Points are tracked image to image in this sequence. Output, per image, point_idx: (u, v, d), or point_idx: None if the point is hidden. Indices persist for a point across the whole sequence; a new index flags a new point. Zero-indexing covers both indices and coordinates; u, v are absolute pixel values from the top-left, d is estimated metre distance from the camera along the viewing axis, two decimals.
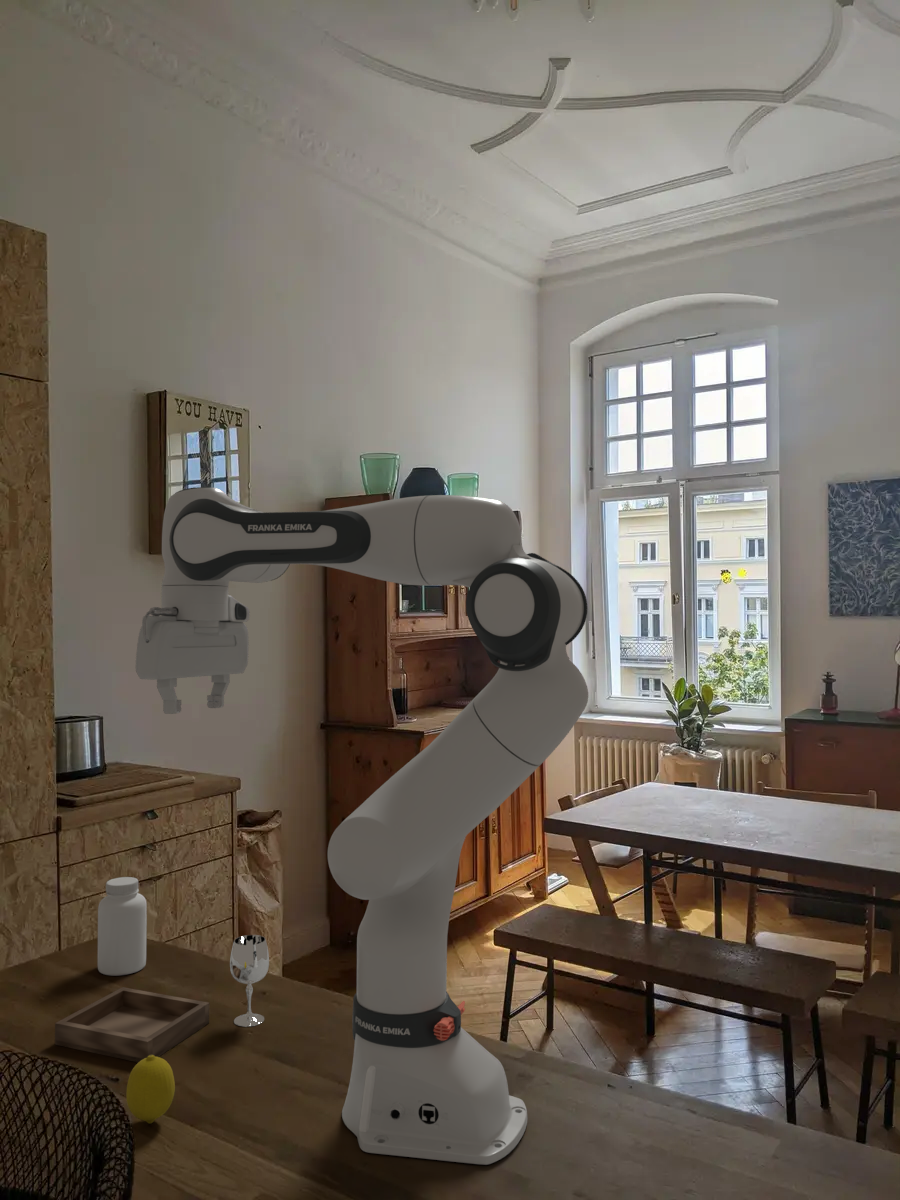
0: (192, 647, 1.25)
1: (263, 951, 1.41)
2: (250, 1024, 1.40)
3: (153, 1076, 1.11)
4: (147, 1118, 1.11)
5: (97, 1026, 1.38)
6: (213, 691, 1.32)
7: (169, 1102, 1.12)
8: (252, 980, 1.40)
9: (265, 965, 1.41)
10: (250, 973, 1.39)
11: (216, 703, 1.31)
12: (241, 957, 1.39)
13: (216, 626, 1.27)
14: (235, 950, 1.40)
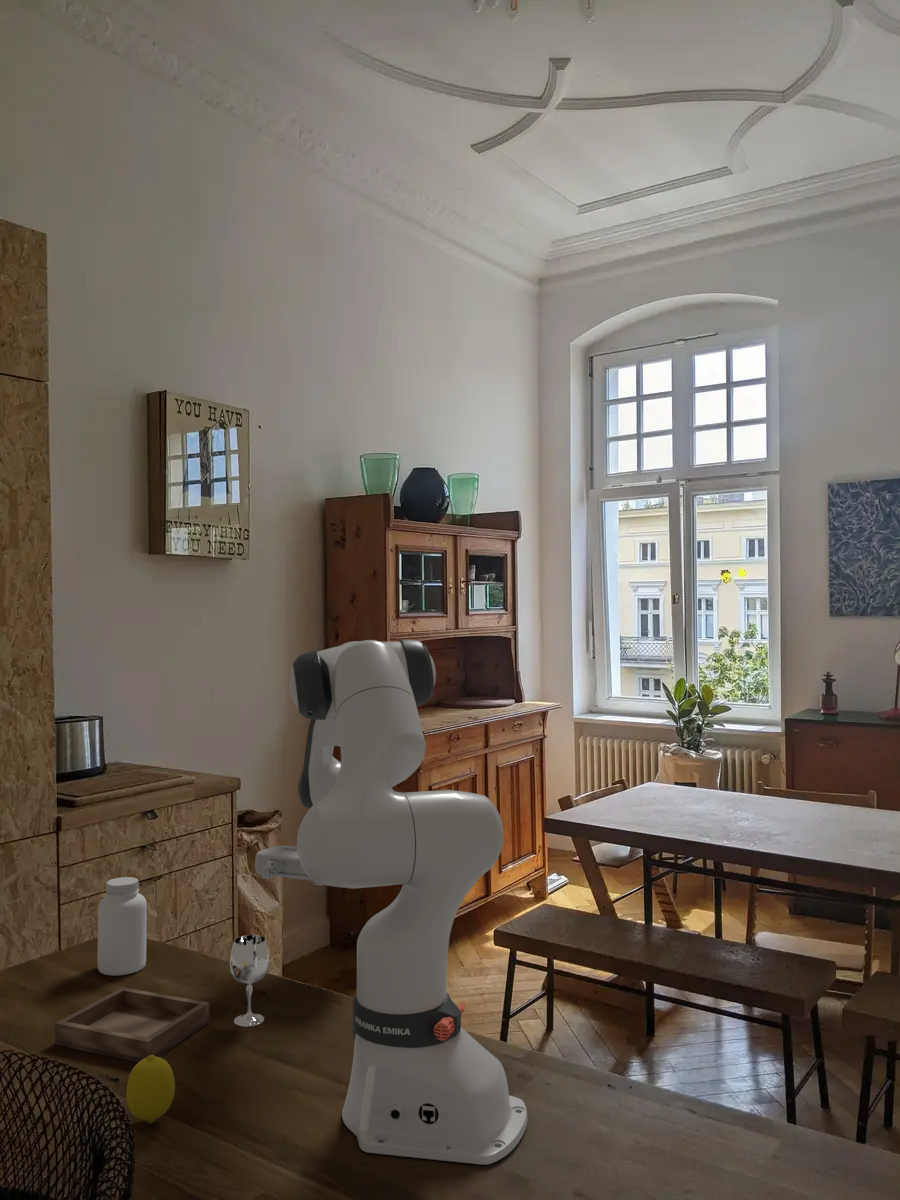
0: None
1: (263, 951, 1.41)
2: (250, 1024, 1.40)
3: (153, 1076, 1.11)
4: (147, 1118, 1.11)
5: (97, 1026, 1.38)
6: None
7: (169, 1102, 1.12)
8: (252, 980, 1.40)
9: (265, 965, 1.41)
10: (250, 973, 1.39)
11: None
12: (241, 957, 1.39)
13: None
14: (235, 950, 1.40)
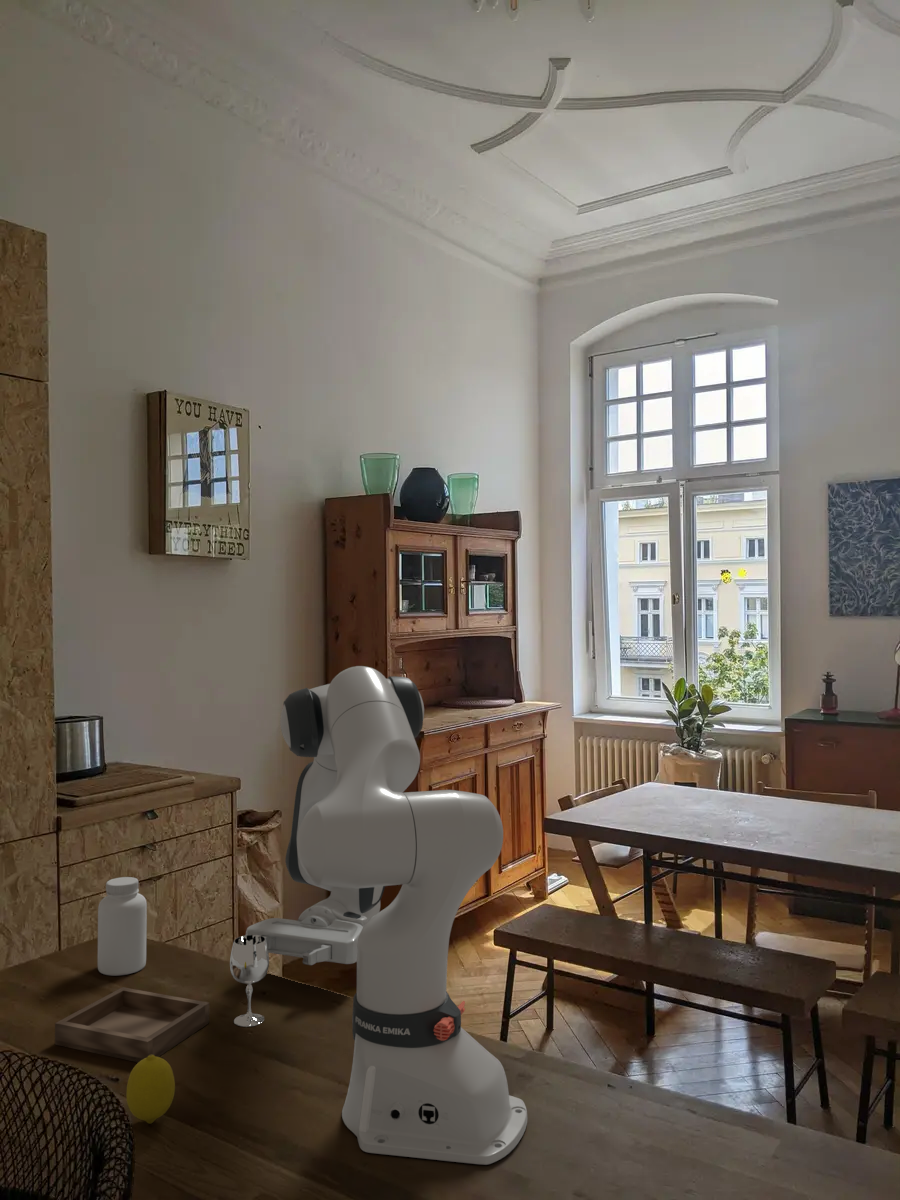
0: (293, 927, 1.59)
1: (263, 951, 1.41)
2: (250, 1024, 1.40)
3: (153, 1076, 1.11)
4: (147, 1118, 1.11)
5: (97, 1026, 1.38)
6: None
7: (169, 1102, 1.12)
8: (252, 980, 1.40)
9: (265, 965, 1.41)
10: (250, 973, 1.39)
11: None
12: (241, 957, 1.39)
13: (318, 916, 1.60)
14: (235, 950, 1.40)
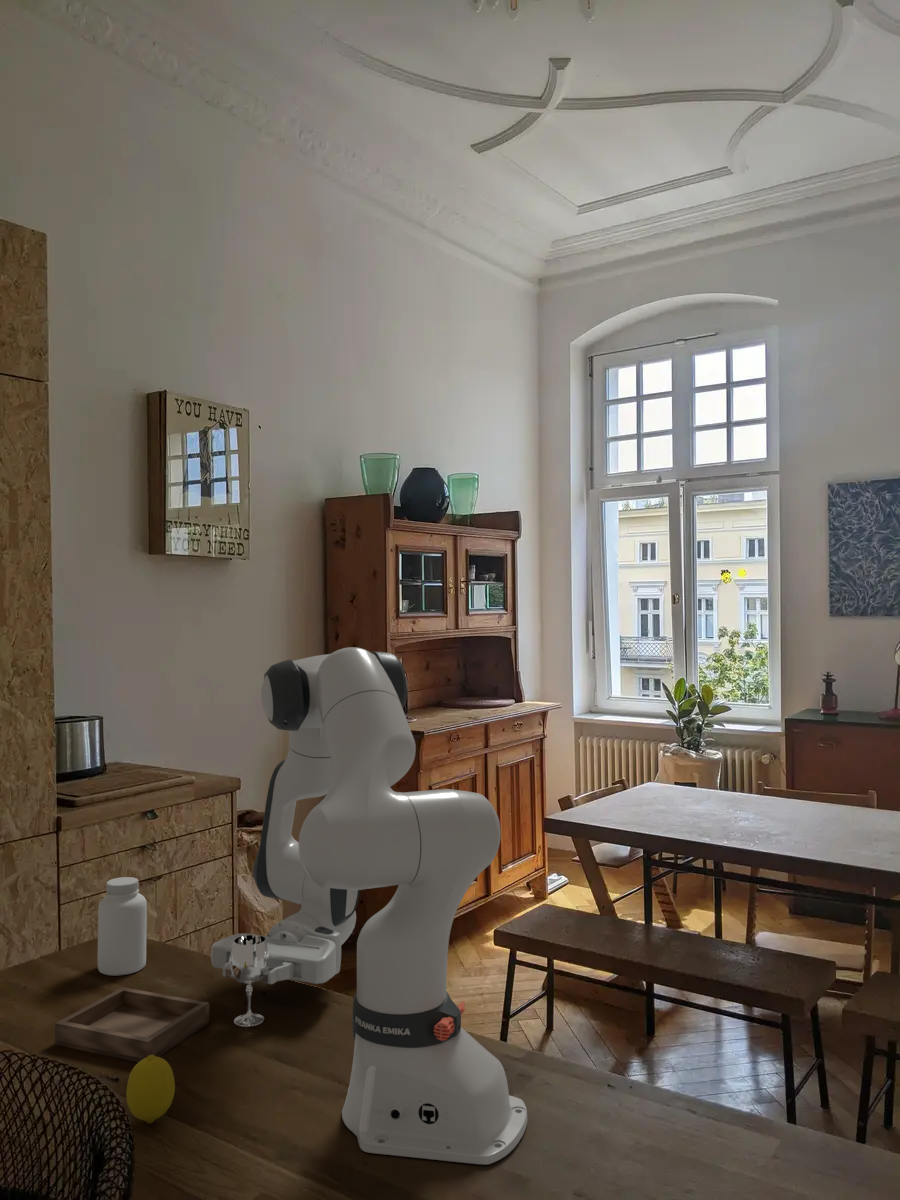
0: None
1: (263, 951, 1.41)
2: (250, 1024, 1.40)
3: (153, 1076, 1.11)
4: (147, 1118, 1.11)
5: (97, 1026, 1.38)
6: None
7: (169, 1102, 1.12)
8: (252, 980, 1.40)
9: (265, 965, 1.41)
10: (250, 973, 1.39)
11: None
12: (241, 957, 1.39)
13: (288, 931, 1.52)
14: (235, 950, 1.40)
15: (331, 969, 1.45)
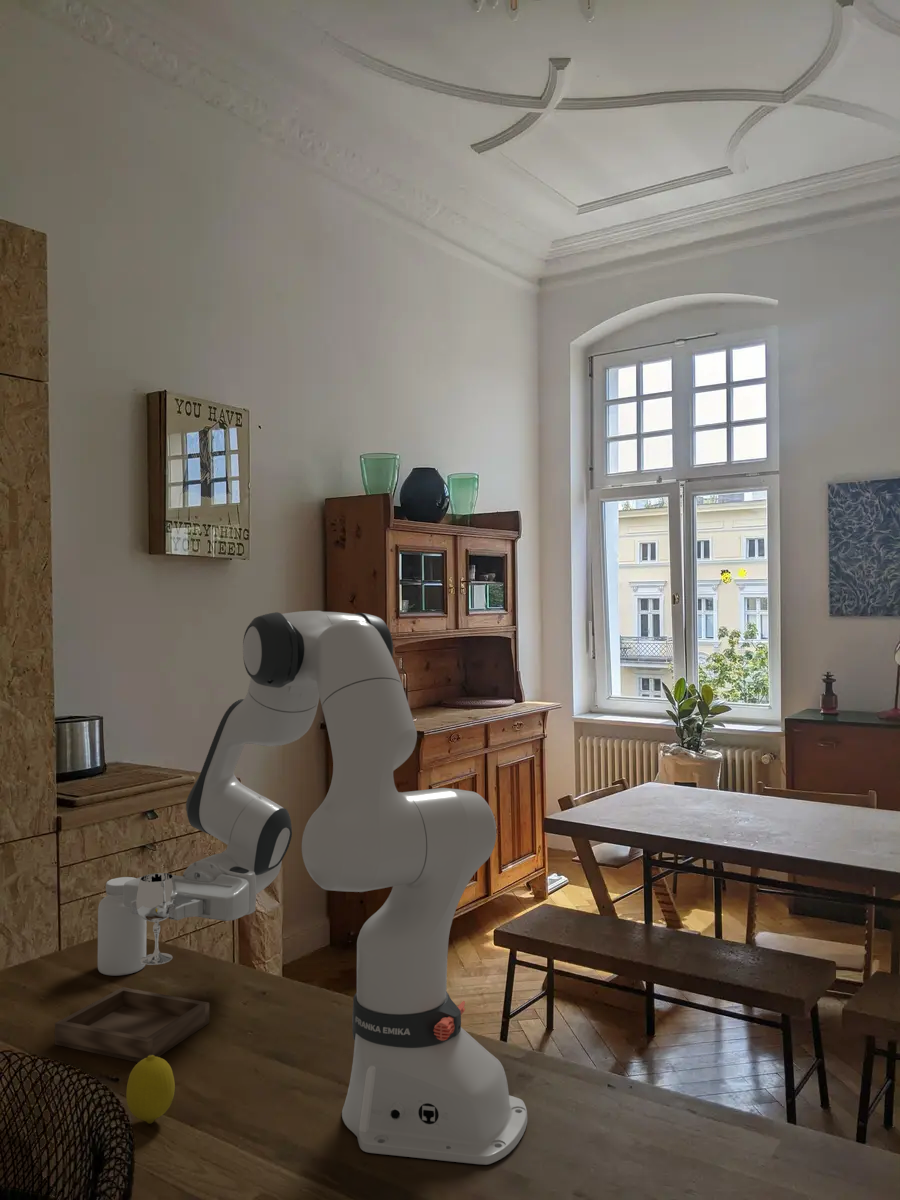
0: (175, 882, 1.47)
1: (169, 889, 1.38)
2: (156, 962, 1.37)
3: (153, 1076, 1.11)
4: (147, 1118, 1.11)
5: (97, 1026, 1.38)
6: None
7: (169, 1102, 1.12)
8: (158, 917, 1.36)
9: (172, 902, 1.38)
10: (155, 910, 1.36)
11: None
12: (146, 894, 1.36)
13: (203, 871, 1.48)
14: (140, 887, 1.37)
15: (242, 907, 1.42)
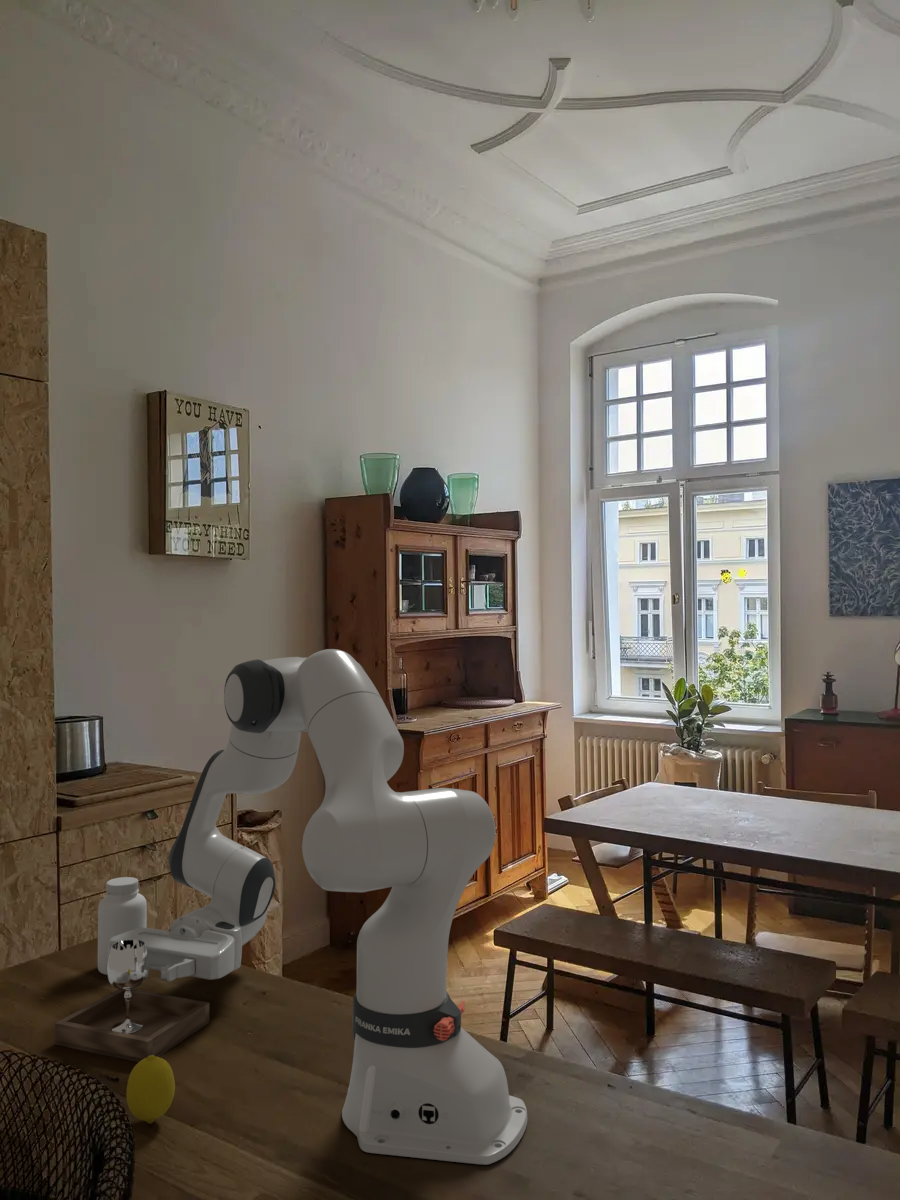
0: (160, 938, 1.47)
1: (141, 957, 1.37)
2: (127, 1031, 1.36)
3: (153, 1076, 1.11)
4: (147, 1118, 1.11)
5: (97, 1026, 1.38)
6: None
7: (169, 1102, 1.12)
8: (129, 986, 1.36)
9: (143, 970, 1.37)
10: (126, 979, 1.35)
11: None
12: (117, 963, 1.35)
13: (189, 926, 1.49)
14: (111, 955, 1.36)
15: (228, 964, 1.43)
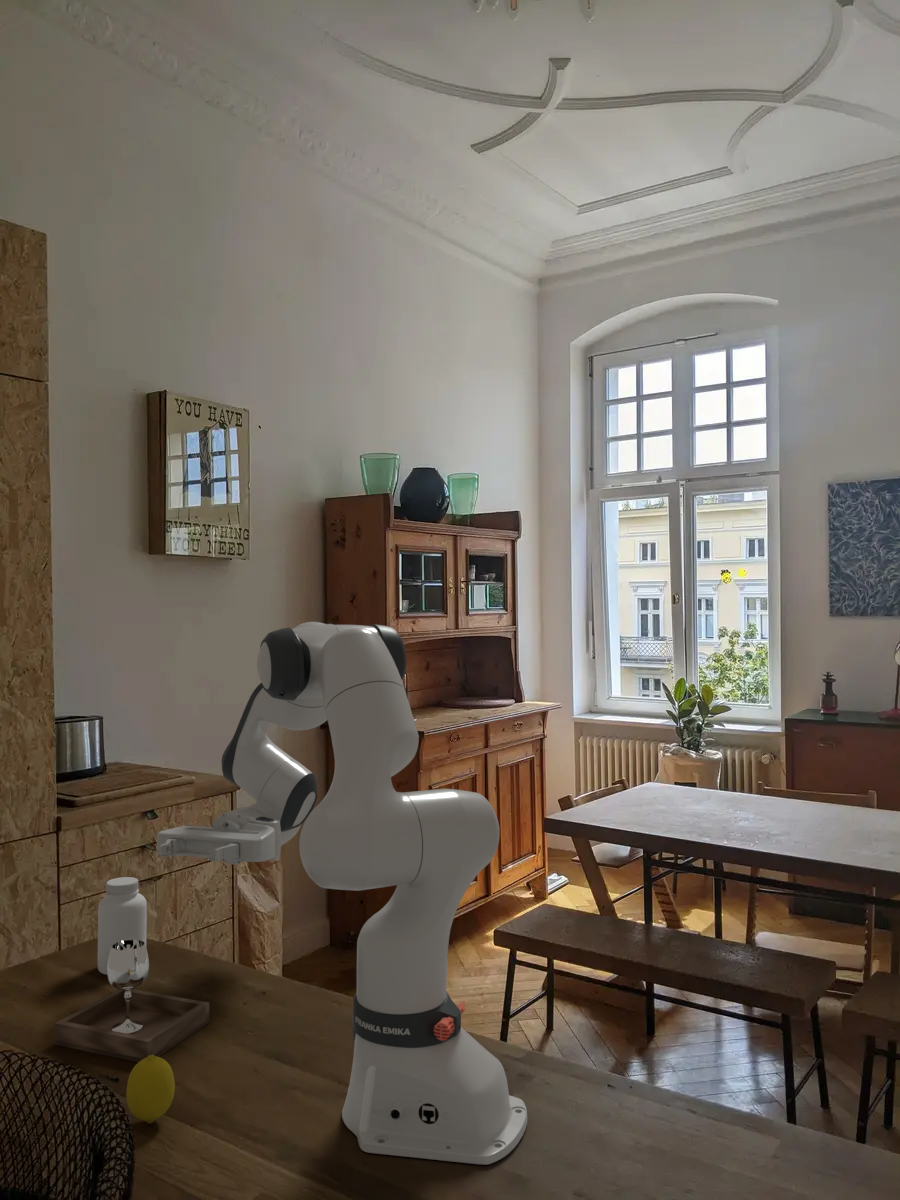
0: (205, 831, 1.58)
1: (141, 957, 1.37)
2: (127, 1031, 1.36)
3: (153, 1076, 1.11)
4: (147, 1118, 1.11)
5: (97, 1026, 1.38)
6: None
7: (169, 1102, 1.12)
8: (129, 986, 1.36)
9: (143, 970, 1.37)
10: (126, 979, 1.35)
11: None
12: (117, 963, 1.35)
13: (231, 821, 1.59)
14: (111, 955, 1.36)
15: (269, 850, 1.53)
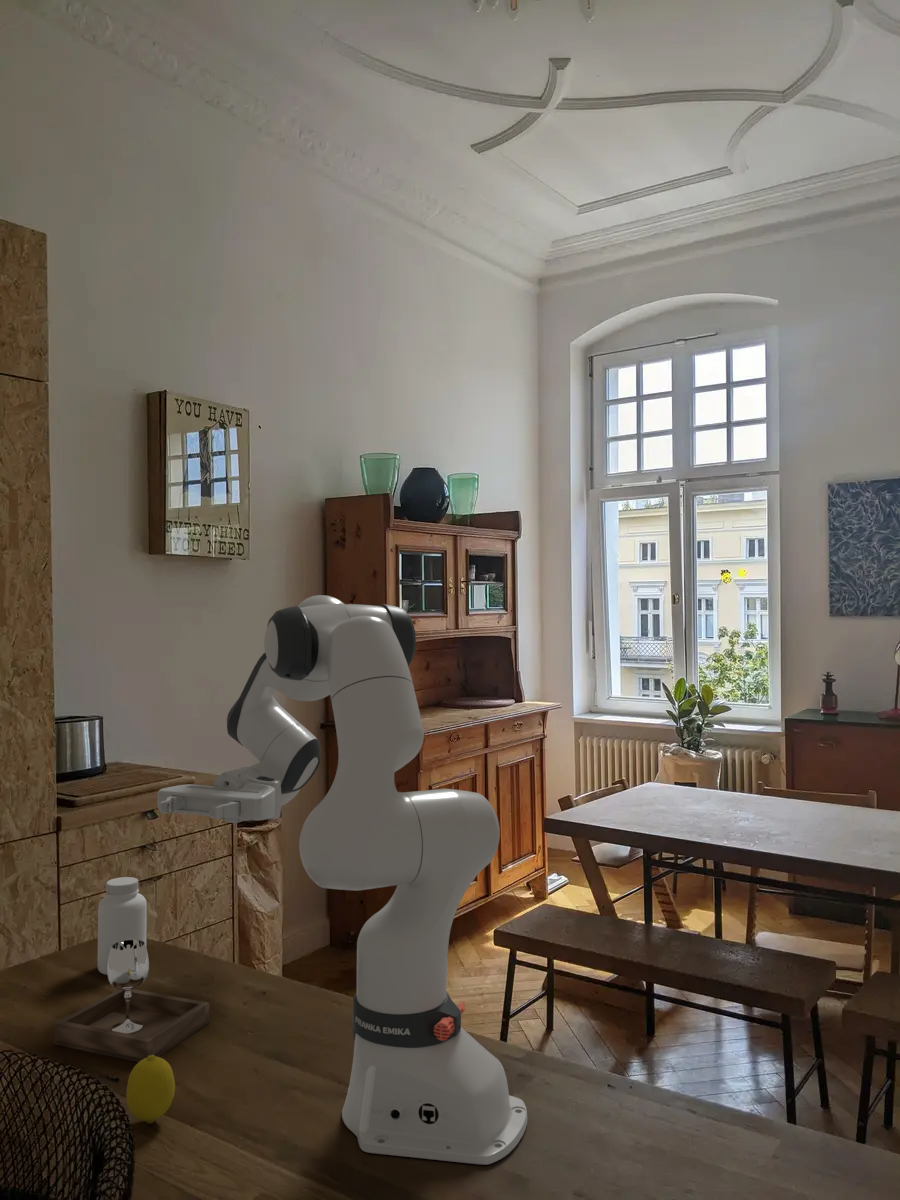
0: (205, 789, 1.58)
1: (141, 957, 1.37)
2: (127, 1031, 1.36)
3: (153, 1076, 1.11)
4: (147, 1118, 1.11)
5: (97, 1026, 1.38)
6: None
7: (169, 1102, 1.12)
8: (129, 986, 1.36)
9: (143, 970, 1.37)
10: (126, 979, 1.35)
11: None
12: (117, 963, 1.35)
13: (232, 780, 1.59)
14: (111, 955, 1.36)
15: (269, 809, 1.53)
